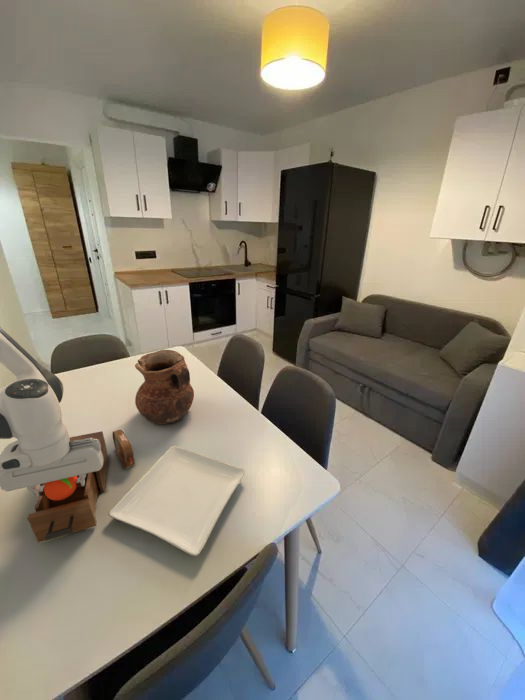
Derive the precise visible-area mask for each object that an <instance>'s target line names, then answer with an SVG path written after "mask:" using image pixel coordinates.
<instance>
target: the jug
mask: <svg viewBox="0 0 525 700" xmlns="http://www.w3.org/2000/svg"><path fill="white" fill-rule="evenodd" d="M134 368H135V369H136V370H137V371H138V372H139V373H140V374H141V375H142V376H143V379H144V381H143V382H142V384H141V385H140V386H139V388H138V389H137V391H136V394H135V399H134V403H135V404H134V405H135V407H136V409H137V411H138V413H140V415H141V416H142V418H144V419H145V420H146V421H148V422H150V423H153V424H159V425H166V424H172V423H175V422H177V421H179V420H181V418H182V417H183V416H185V415H186V414H187V412H188V411H189V410H190V409H191V407H192V405H193V402H194V399H195V391H194V388H193V386H192V384H191V376H190V375H191V373H190V370H189V368H188V365H187V363H186V360H185V356H184V355H182V354H181V353H179V352H178V351H176V350H173V349H160V350H157V351H155V352H154V351H153V352H149V353H146V354H143V355H142V356H141V357H140V358H139V359H137V362H136V364H135V365H134Z"/></svg>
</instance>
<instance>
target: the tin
mask: <svg viewBox="0 0 525 700" xmlns="http://www.w3.org/2000/svg"><path fill="white" fill-rule="evenodd" d="M111 435H112V441H113V446H114V449H115V452H116V454H117V456H118V458H119V460H120V462H121V463H122V466H123V467H124V468H125V469H128V468H131V467H132V466H135V464H136V463H135V453H134V449H133V446H132V444H131V442H130V440H129V438H128V437H127V435H126V433H125V432H124V431H123V430H122V429H117V430H114V431H113V430H112V434H111Z"/></svg>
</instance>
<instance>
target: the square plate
mask: <svg viewBox="0 0 525 700" xmlns="http://www.w3.org/2000/svg"><path fill="white" fill-rule="evenodd" d="M245 473H246V470H245V469H244V468H241V467H239V466H236V465H233V464H231V463H227V462H225V461H221V460H218V459H216V458H212V457H210V456H207V455H205V454H204V455H203V454H201V453H198V452H195V451H192V450H189V449H187V448H185V447H184V448H183V447H181V446H177V445H172V446H170V447H169V448H168V449H167V450H166V451H165V452H164V453H163V454H162V455H161V457H160V458H158V460H157V461H155V463H154V464H152V466H150V468H149V469H148V470H147V471H146V472H145V473H144V474H143V475H142V476H141V477H140V478H139V479H138V481H136V483H135V484H134V485H132V487H130V488H129V490H127V492H126V493H125V494H123V496H122V497H121V498H120V499H119V500H118V501H117V502H116V504H115V505H113V506H112V508H111V509H109V511H108V513H107V515H108V516H109V517H110V518H112V519H115V520H116V521H120V522H121V523H125V524H126V525H129V526H132V527H135V528H136V529H139V530H142V531H144V532H146V533H148V534H151V535H153V536H155V537H156V538H158V539H160V540H162V541H164V542H166V543H168V544H170V545H171V546H173V547H174V548H177V549H178V550H180V551H182V552H184V553H186V554H188V555H189V556H192V557H196V556H199V555H200V553H201V552H202V551H203V549H204V548H205V546H206V544H207V541H208V540H209V537H210V536H211V533H212V531H213V530H214V528H215V526H216V524H217V522H218V520H219V518H220V516H221V515H222V513H223V510H224V509H225V507H226V506H227V504H228V502H229V501H230V499H231V497H232V495H233V494H234V492H235V490H236V489H237V487H238V486H239V484H240V483H241V481H242V479H243V477H244V476H245Z"/></svg>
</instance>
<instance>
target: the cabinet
mask: <svg viewBox="0 0 525 700" xmlns="http://www.w3.org/2000/svg"><path fill="white" fill-rule="evenodd" d="M69 437H70V441H74V440H81V439H86V438H92V439H97V440H99V441H100V444H101V451H102V454H103V457H104V463H103V467H102V468H101V469H100V470H99V471H95V473H96V476H97V480H98V484H99V487H98V494H101V493H104V492H105V486H106V479H107V471H108V463H109V453H108V450H107V449H108V448H107V444H106V441H105V437H104V432H103V431H102V430H101V431H97V432H92V433H91V432H90V433H86V434H85V433H84V434H80V435H76V436H69ZM92 441H93V440H92ZM39 485H40V486H43V484H39Z"/></svg>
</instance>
